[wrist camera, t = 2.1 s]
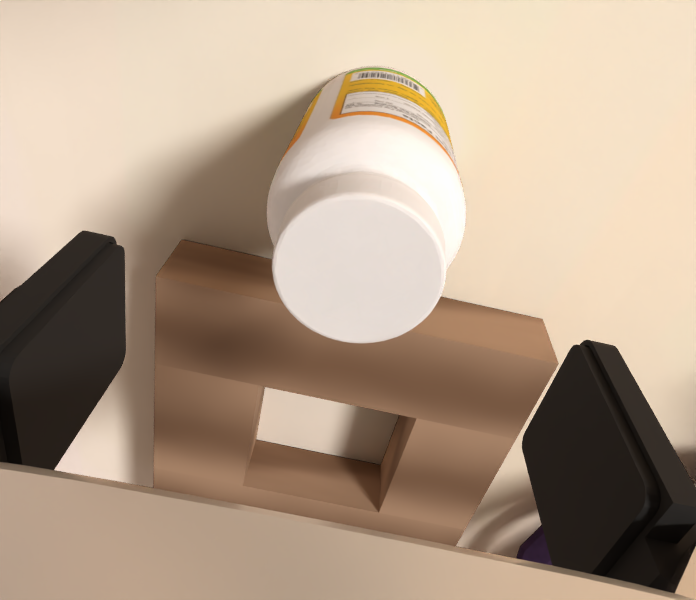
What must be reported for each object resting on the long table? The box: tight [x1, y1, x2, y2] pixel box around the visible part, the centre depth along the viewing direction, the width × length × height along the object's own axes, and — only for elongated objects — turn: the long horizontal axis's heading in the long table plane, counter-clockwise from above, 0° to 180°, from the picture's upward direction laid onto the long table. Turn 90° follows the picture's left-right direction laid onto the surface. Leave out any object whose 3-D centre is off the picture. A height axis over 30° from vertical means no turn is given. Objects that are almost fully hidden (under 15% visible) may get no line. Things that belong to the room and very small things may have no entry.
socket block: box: [153, 240, 559, 546], centre depth 27 cm, size 16×16×3 cm
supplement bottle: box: [267, 66, 466, 343], centre depth 16 cm, size 5×5×10 cm
